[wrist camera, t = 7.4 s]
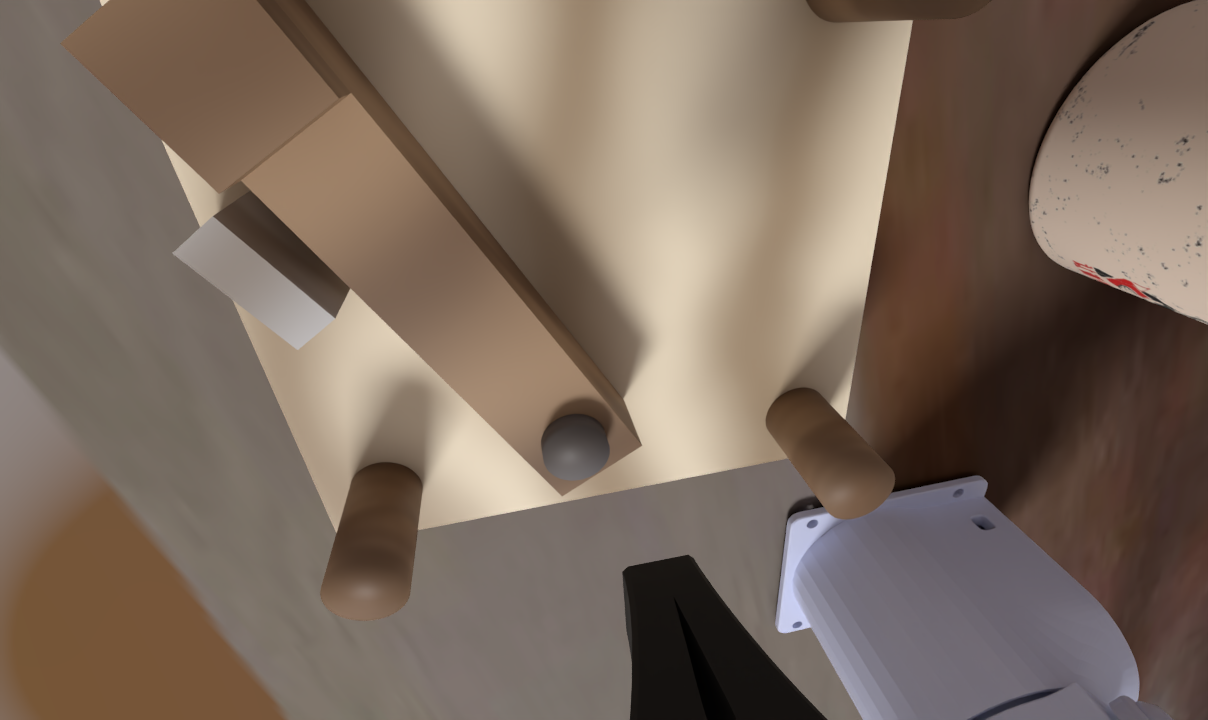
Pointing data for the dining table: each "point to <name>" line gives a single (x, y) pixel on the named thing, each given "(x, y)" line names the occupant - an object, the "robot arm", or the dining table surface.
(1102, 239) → the teacup with lid
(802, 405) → the stool seat
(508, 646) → the dining table surface
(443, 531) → the dining table surface
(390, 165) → the folding leg
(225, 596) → the dining table surface
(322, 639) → the dining table surface
